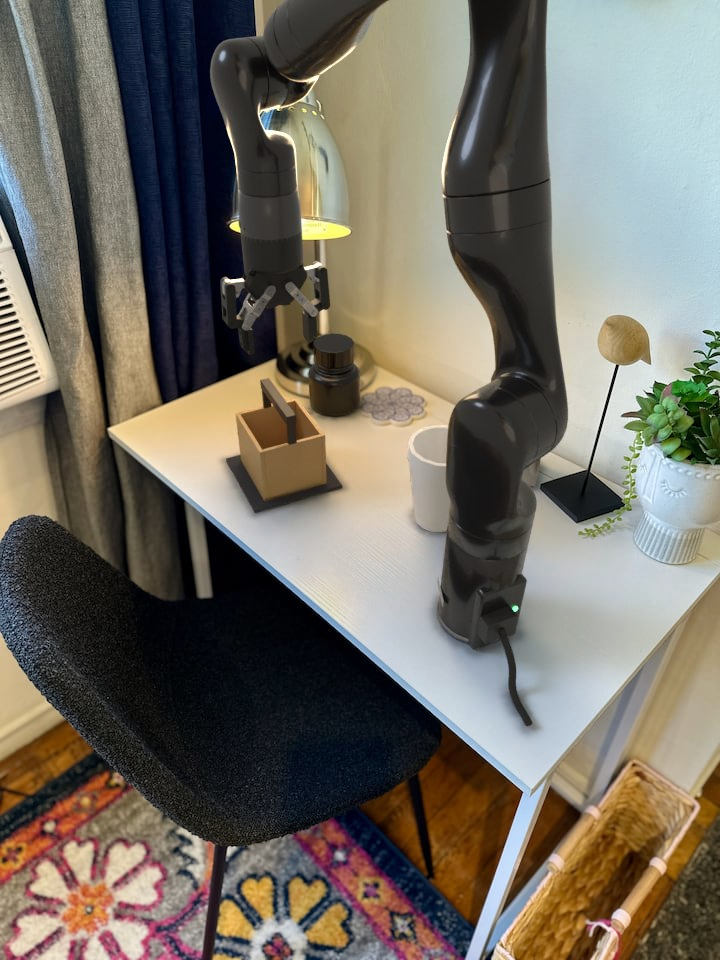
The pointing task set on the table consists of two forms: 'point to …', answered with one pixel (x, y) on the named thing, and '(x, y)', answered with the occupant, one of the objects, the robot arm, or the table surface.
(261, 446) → the handled storage bin
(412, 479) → the foam cup
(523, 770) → the table surface
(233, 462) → the bin mat
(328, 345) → the ink bottle
